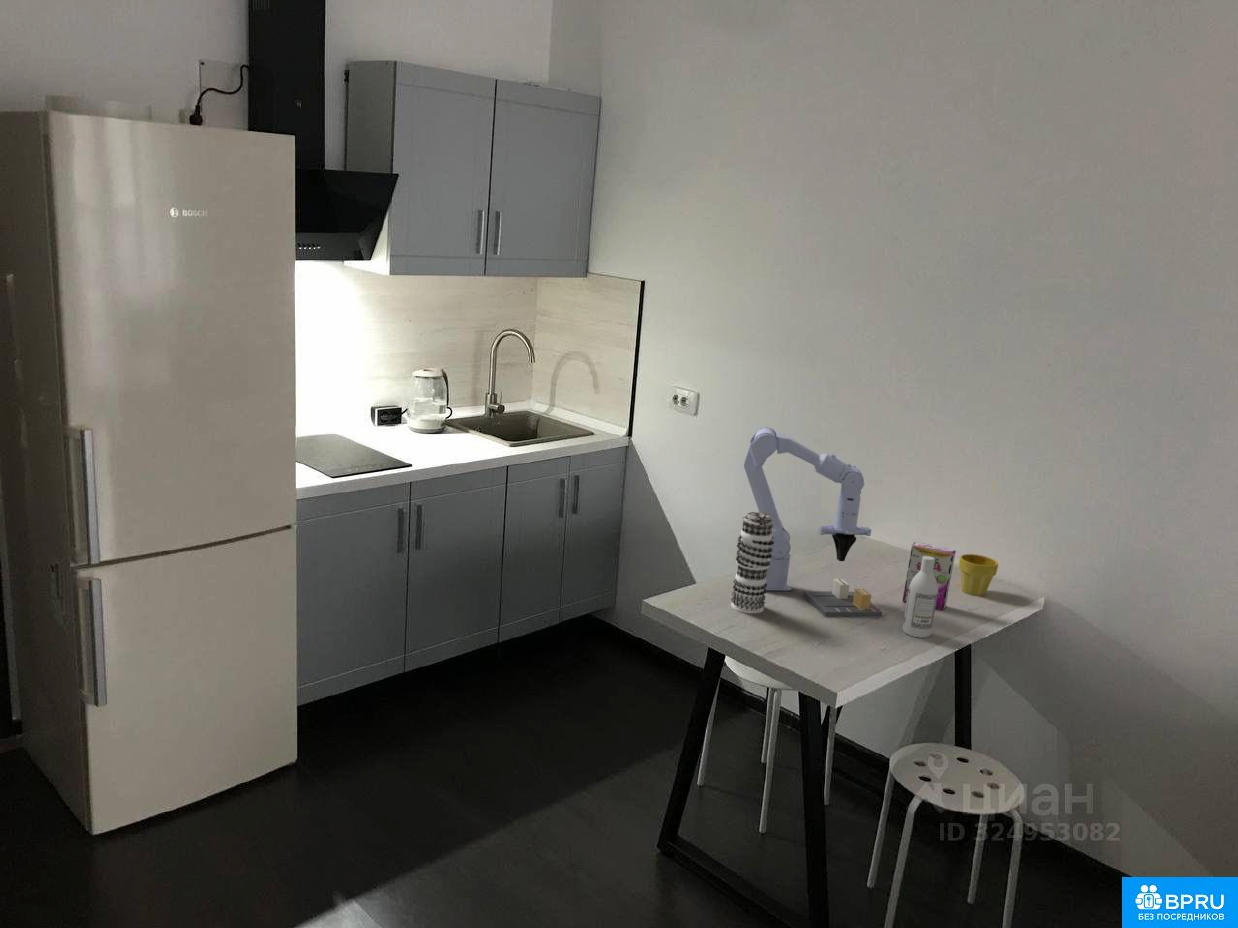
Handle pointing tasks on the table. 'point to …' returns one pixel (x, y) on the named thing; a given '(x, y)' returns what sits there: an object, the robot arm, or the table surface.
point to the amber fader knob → (862, 599)
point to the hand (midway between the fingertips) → (840, 560)
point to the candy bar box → (940, 569)
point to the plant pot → (976, 573)
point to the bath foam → (921, 601)
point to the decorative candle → (752, 563)
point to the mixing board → (839, 605)
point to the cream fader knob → (840, 589)
